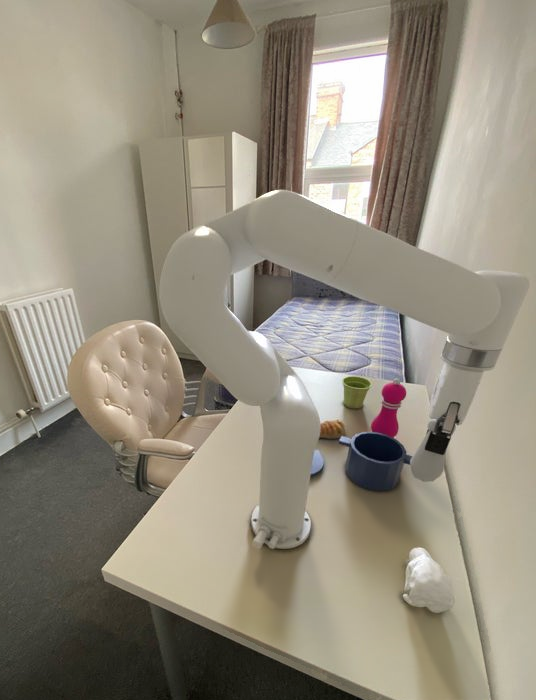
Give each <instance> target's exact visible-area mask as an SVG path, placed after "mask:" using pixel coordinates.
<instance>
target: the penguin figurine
mask: <svg viewBox="0 0 536 700" xmlns="http://www.w3.org/2000/svg"><path fill="white" fill-rule="evenodd" d="M408 555H409V556H408V558H407V559H406V560H405V562H406V568H405V582H404V583H405V584H404V589H403V590H404V591H405V592H407V591H409V590H410V591H409V594H408V593H403V594H402V598H403V600H404V601H405V602H406V603H407V604H409V605H410V606H411V607H417V608H425V607H426V608H427V610H429V611H430V612H432V613H434V614H440V613H442V612H446V611H448V610H449V609H450V608H452V607H453V606H454V604H455V598H454V588H453V585H452V581H451V579H450V578H449V576H448V575H447V573H446V572H445V571H444V569H443V568H442V566H441V565H440V563H438V562H437V561H435V560H434V559H433V558H432V556H431V554H430V553H429V552H428V551H427V550H426V549H425V548H423V547H419V546H418V547H414V548H412V549H411V550H410V551H409V554H408Z"/></svg>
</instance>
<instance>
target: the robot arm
mask: <svg viewBox="0 0 536 700" xmlns="http://www.w3.org/2000/svg"><path fill="white" fill-rule="evenodd" d="M265 260H266V261H268V262H270V263H272V264H275V265H278V266H280V267H281V268H282V267H283V268H285V269H288V270H289V271H292V272H294V273H297V274H301V275H303V276H306V277H308V278H310V279H313V280H315V281H317V282H320V283H322V284H325V285H326V286H329V287H333V288H334V289H336V290H339V291H342V292H344V293H346V294H348V295H351V296H353V297H355V298H358V299H360V300H362V301H366V302H369V303H372V304H375V305H377V306H380V307H383V308H386V309H389V310H391V311H392V312H396V313H397V314H399V315H403V316H404V317H407V318H410V319H412V320H415V321H417V322H419V323H422V324H423V325H427V326H429V327H432V328H434V329H436V330H439V331H441V332H443V333H446V334H447V337H446V339H445V343H444V345H443V349H442V351H441V353H440V354H441V355H440V359H441V360H442V361H443V362H444V363H443V366H442V368H441V371H440V372H439V373H440V374H439V376H438V379H437V381H436V384H435V386H434V389H433V392H432V394H431V397H430V402H429V403H430V404H429V409H428V416H429V418H430V419H436V423H435V426H434V429H433V431H430V434H429V437H428V440H427V442H426V445H425V450H426V451H430V452H433V453H437V454H440V455H444V454H445V451H446V452H447V449H448V446H449V444H450V442H451V439H452V436H453V434H452V432H453V430H454V427H455V425H456V427H457V426H460V425H463V423H464V421H465V419H466V417H467V415H468V413H469V410H470V408H471V406H472V403H473V402H474V399H475V396H476V393H477V391H478V389H479V386H480V384H481V380H482V378H483V376H484V372H489V371H492V370H494V369H495V367H496V364H497V362H498V360H499V357H500V355H501V353H502V351H503V349H504V346H505V345H506V342H507V339H508V337H509V335H510V332H511V330H512V328H513V326H514V323H515V321H516V320H517V319H516V318H517V316H518V315H519V312H520V310H521V307H522V305H523V302H524V300H525V298H526V296H527V293H528V291H529V289H530V279H529V277H528V276H527V275H525V274H522V273H520V272H519V273H518V272H514V271H508V270H498V269H497V270H495V269H483V270H478V271H473V270H470V269H468V268H466V267H464V266H461V265H460V264H457V263H455V262H452V261H450V260H447V259H445V258H443V257H441V256H438V255H436V254H434V253H431V252H429V251H426V250H424V249H422V248H419V247H417V246H414V245H412V244H409V243H408V242H406V241H403V240H401V239H400V238H398V237H396V236H393V235H391V234H389V233H387V232H384V231H381V230H379V229H377V228H375V227H373V226H370V225H368V224H365V223H364V222H361V221H359V220H357V219H354V218H352V217H350V216H348V215H346V214H344V213H342V212H339V211H337V210H335V209H333V208H330V207H329V206H327V205H324V204H322V203H320V202H318V201H315V200H313V199H311V198H308V197H307V196H305V195H302V194H300V193H297V192H296V191H291V190H287V189H275V190H272V191H269V192H267V193H264V194H262V195H260V196H259V197H257V198H255V199H253V200H251V201H249V202H247V203H246V204H244V205H242V206H240V207H237V208H235V209H234V210H231V211H229V212H226V213H225V214H223V215H221V216H218V217H216V218H214V219H211V220H209V221H207V222H205V223H203V224H201V225H199V226H196V227H194V228H191V229H190V230H188V231H186V232H184V233H183V234H181V235H180V236H179V237H178V238H177V239H176V240H175V241H174V243H172V245H171V247H170V248H169V250H168V253H167V255H166V257H165V260H164V263H163V266H162V270H161V273H160V278H159V285H158V286H159V287H158V297H159V304H160V309H161V311H162V314H163V317H164V319H165V321H166V323H167V325H168V326H169V328H170V330H171V331H172V332H173V333H174V335H175V336H176V337H177V338H178V339H179V340H180V341H181V342H182V343H183V344H184V346H185V347H187V349H189V351H190V352H192V353H193V355H194V356H195V357H196V358H197V359H198V360H199V361H200V362H201V364H203V366H204V367H205V368H206V369H207V370H208V371H209V372H210V373H211V374H212V375H213V376H214V377H215V379H216V380H218V382H220V384H222V386H223V387H224V388H225V389H226V390H227V392H229V394H231V395H232V396H233V398H234V399H236V400H237V401H239V402H240V403H242V404H244V405H246V406H251V407H259V410H260V416H261V421H262V431H263V432H262V433H263V434H262V444H261V453H260V472H259V473H260V476H259V501H258V505H256V506H255V507H254V509H253V511H252V514H251V517H250V518H251V519H250V523H251V525H250V526H251V528H252V532H253V533H254V535H255V537H254V539H253V540H252V542H251V544H252V546H253V548H255V549H256V550H260V549H262V547H263V546H264V544H265V545H267V547H268V548H269V549H271V550H274V549H279V550H286V549H293V548H297V547H298V546H301V545H302V544H303V543H304V542H306V540H308V538H309V535H310V533H311V528H312V522H311V518H310V516H309V514H308V512H307V503H308V494H309V488H310V481H311V476H310V475H311V466H312V460H313V455H314V451H315V449H316V448H317V445H318V442H319V439H320V432H321V419H320V414H319V412H318V408H317V407H316V405H315V403H314V401H313V399H312V397H311V395H310V393H309V391H308V389H307V387H306V385H305V383H304V381H303V380H302V378H301V377H300V376H299V375H298V373H296V371H295V370H294V369H293V368H292V366H291V365H290V363H288V362H287V360H286V359H285V358H284V357H283V355H282V354H281V352H279V350H278V349H277V348H276V346H274V344H273V343H272V342H271V340H269V339H268V338H267V337H266V336H265V335H264V334H261V333H260V332H257V331H253V330H248V329H247V328H246V327H245V326H244V325H243V322H241V320H240V319H239V318H238V317H237V316H236V315H235V314H234V312H232V311H231V310H230V309H229V307H228V306H227V305H226V301H225V291H226V288H227V286H228V283H229V281H230V280H231V276H232V275H235V274H237V273H239V272H242V271H244V270H246V269H249V268H250V267H253V266H255V265H257V264H260V263H261V262H264V261H265ZM441 416H442V417H441ZM443 417H445V418H443ZM440 422H442V423H444V424H443V425H442V426H441V425H440V426H439V424H440ZM428 431H429V430H428V429H427V430H426V433H425V435H426V434H427V433H428ZM445 455H446V454H445Z"/></svg>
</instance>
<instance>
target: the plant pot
mask: <svg viewBox="0 0 536 700" xmlns="http://www.w3.org/2000/svg"><path fill="white" fill-rule="evenodd" d="M341 382H342V386H343V405H345V407H347V408H350V409H361V408H362V407H363V404H364V402H365V399H366V397H367V394H368V391H369V390H370V388H372V387H373V383H372V381H370V380H369V379H367V378H365V377H361V376H357V375H356V376H355V375H350V376H345V377H343V378H342V381H341Z"/></svg>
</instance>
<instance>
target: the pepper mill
mask: <svg viewBox="0 0 536 700" xmlns="http://www.w3.org/2000/svg"><path fill="white" fill-rule="evenodd" d="M381 396H382V398H381V401H380V404H381V409H380V411H379V413H378V414H377V415H376V416H375V417H374V419H373V420H372V422H371V424H370V429H371V432H378V433H382V434H385V435H388V436H390V437H392V438H394V439H395V437H396V436H397V435H398V434H399V429H400V427H399V421H398V415H397V414H398V410H399V409H400V408H401V407H402V403H403V401H404V400H405V399H406V397H407V390H406V388H405V386H404V385H403V384H401V380H400V379H399V378H394V379H393V380H392V382H388V383H387V384H385V385H384V386H383V387H382V389H381Z"/></svg>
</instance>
